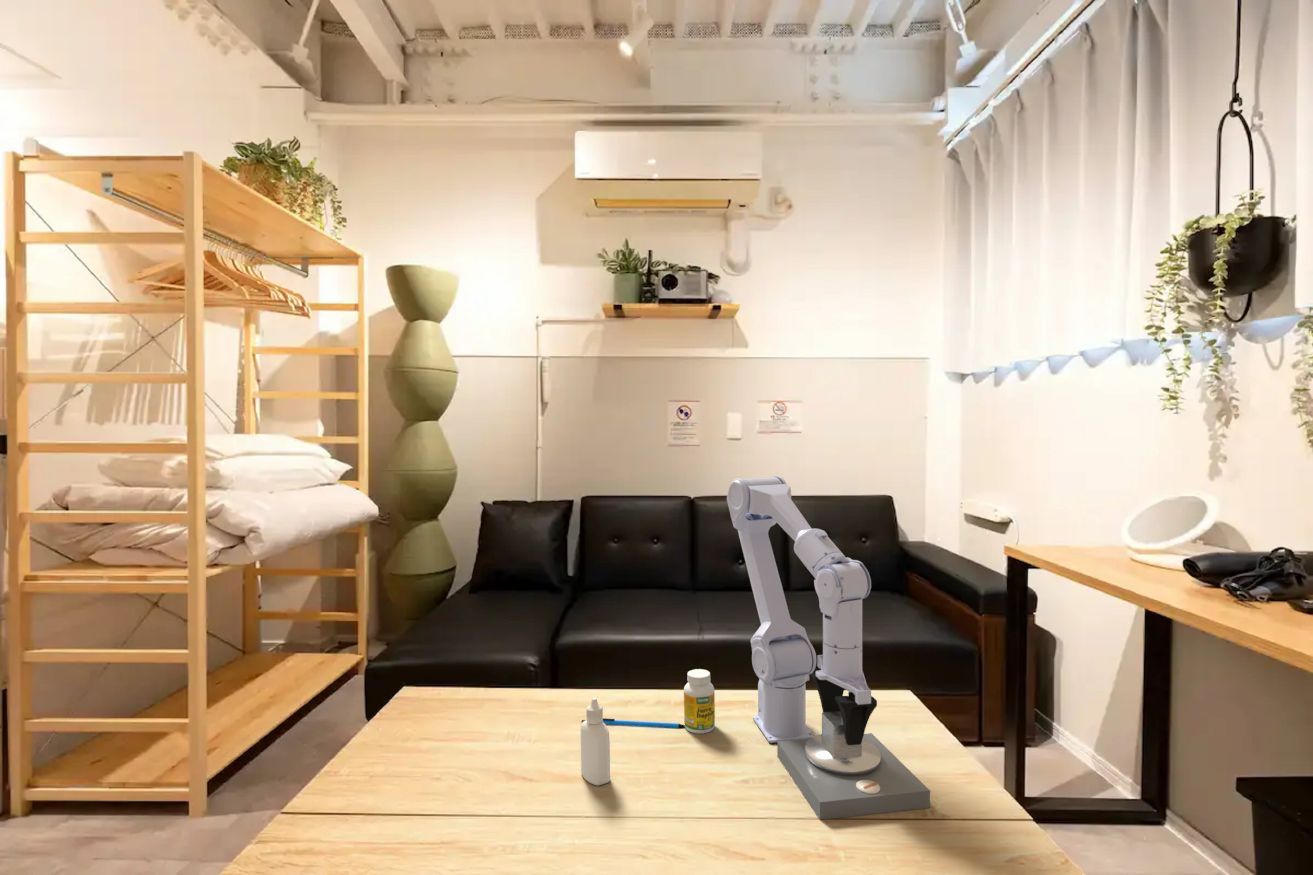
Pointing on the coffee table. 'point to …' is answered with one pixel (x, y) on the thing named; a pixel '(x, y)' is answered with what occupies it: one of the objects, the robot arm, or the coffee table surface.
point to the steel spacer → (837, 737)
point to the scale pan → (843, 765)
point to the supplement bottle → (699, 702)
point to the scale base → (854, 784)
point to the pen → (641, 723)
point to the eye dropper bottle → (595, 746)
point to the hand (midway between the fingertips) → (842, 731)
